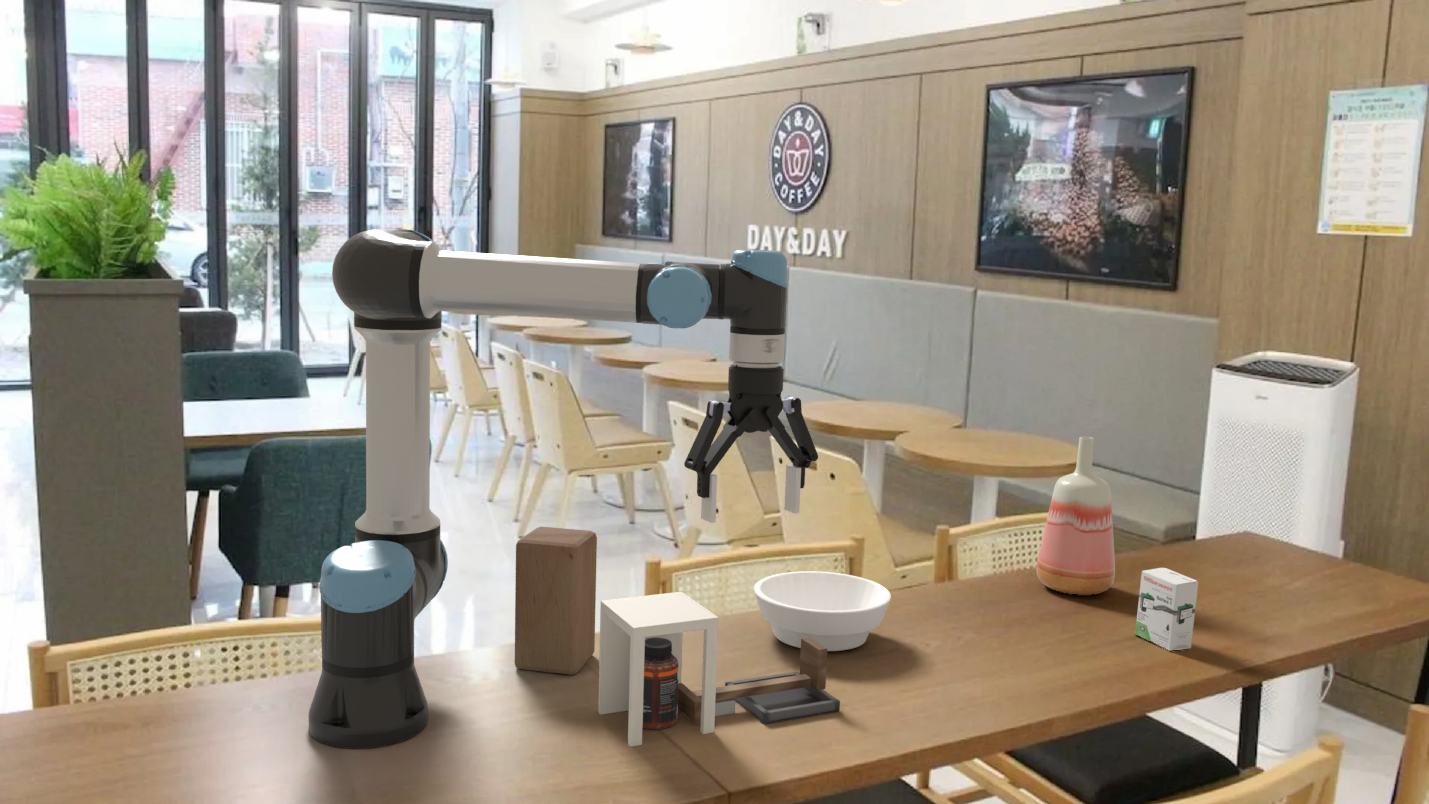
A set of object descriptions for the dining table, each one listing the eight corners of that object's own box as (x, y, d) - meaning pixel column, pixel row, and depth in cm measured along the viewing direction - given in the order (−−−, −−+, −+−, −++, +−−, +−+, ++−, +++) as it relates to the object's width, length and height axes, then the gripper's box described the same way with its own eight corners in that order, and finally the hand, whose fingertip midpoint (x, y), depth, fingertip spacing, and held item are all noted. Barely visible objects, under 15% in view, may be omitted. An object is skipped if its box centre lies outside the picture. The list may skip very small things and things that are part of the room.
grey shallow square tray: (764, 724, 163) (764, 713, 162) (724, 692, 173) (725, 682, 173) (839, 711, 168) (840, 701, 168) (796, 681, 178) (797, 671, 178)
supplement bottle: (684, 718, 163) (687, 639, 162) (664, 735, 158) (667, 652, 156) (646, 710, 166) (648, 631, 164) (625, 725, 161) (627, 644, 159)
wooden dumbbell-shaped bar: (694, 723, 161) (696, 670, 160) (673, 704, 167) (674, 653, 166) (828, 701, 170) (831, 650, 169) (803, 684, 176) (806, 635, 175)
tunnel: (630, 746, 154) (633, 627, 152) (598, 712, 165) (600, 600, 162) (750, 726, 162) (755, 612, 159) (712, 694, 172) (716, 587, 170)
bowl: (733, 650, 191) (735, 599, 190) (775, 610, 212) (777, 564, 211) (871, 672, 183) (874, 620, 182) (901, 628, 204) (903, 581, 203)
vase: (1116, 585, 234) (1129, 435, 230) (1108, 605, 221) (1122, 447, 217) (1041, 574, 240) (1052, 428, 236) (1029, 593, 227) (1040, 439, 222)
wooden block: (576, 677, 177) (578, 546, 174) (512, 670, 179) (513, 540, 176) (596, 654, 187) (598, 529, 184) (535, 648, 188) (537, 524, 186)
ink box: (1133, 635, 205) (1139, 568, 203) (1155, 632, 206) (1161, 566, 205) (1170, 652, 197) (1176, 583, 195) (1193, 649, 199) (1200, 580, 197)
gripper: (689, 370, 154) (684, 530, 157) (846, 364, 166) (839, 513, 169) (662, 363, 160) (658, 518, 164) (816, 358, 173) (810, 502, 176)
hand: (750, 516), depth 166 cm, fingers open, 13 cm apart
